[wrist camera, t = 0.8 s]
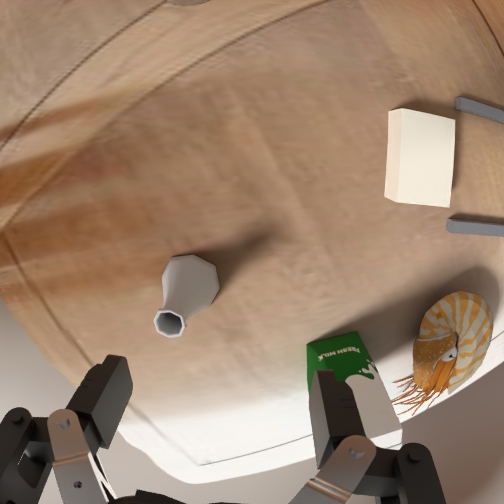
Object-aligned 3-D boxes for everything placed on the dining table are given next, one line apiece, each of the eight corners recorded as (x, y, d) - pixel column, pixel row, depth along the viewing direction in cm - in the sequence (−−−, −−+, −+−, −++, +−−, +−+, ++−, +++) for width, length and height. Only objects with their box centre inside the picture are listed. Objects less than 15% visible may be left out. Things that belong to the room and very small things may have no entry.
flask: (224, 259, 37) (211, 298, 28) (216, 312, 40) (203, 361, 30) (164, 248, 37) (134, 282, 28) (160, 301, 39) (134, 345, 30)
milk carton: (309, 386, 43) (327, 504, 24) (298, 339, 40) (317, 466, 21) (367, 371, 42) (408, 482, 23) (362, 322, 39) (417, 438, 20)
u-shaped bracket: (454, 98, 30) (461, 96, 28) (522, 121, 29) (528, 121, 28) (446, 229, 35) (452, 233, 34) (512, 234, 35) (518, 237, 33)
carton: (387, 111, 31) (401, 108, 27) (438, 121, 31) (455, 119, 27) (383, 196, 34) (396, 202, 31) (432, 200, 34) (449, 207, 30)
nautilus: (409, 403, 45) (348, 373, 44) (497, 312, 38) (447, 263, 36) (420, 437, 38) (355, 411, 36) (521, 339, 30) (474, 289, 29)
